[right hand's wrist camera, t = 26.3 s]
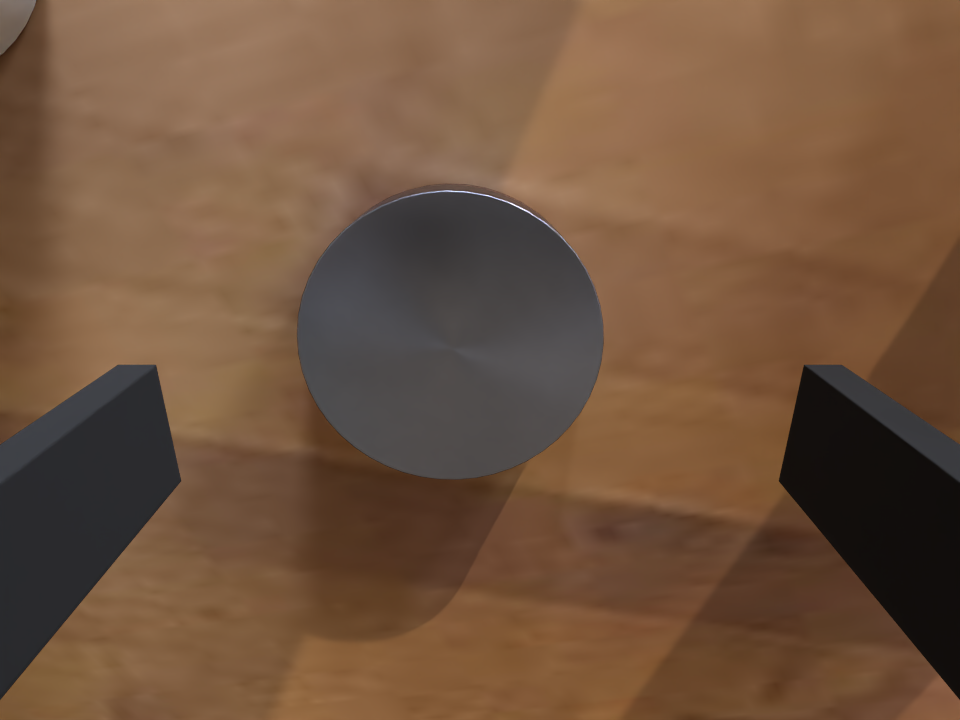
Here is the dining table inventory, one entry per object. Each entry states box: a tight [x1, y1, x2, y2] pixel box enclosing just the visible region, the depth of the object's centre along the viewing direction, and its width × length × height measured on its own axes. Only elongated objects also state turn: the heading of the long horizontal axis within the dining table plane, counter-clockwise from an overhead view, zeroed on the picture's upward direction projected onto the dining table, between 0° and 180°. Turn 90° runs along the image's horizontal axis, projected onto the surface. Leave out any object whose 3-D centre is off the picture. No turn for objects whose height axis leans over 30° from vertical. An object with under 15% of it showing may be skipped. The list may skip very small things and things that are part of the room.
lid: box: [297, 184, 604, 479], centre depth 19 cm, size 9×9×2 cm
